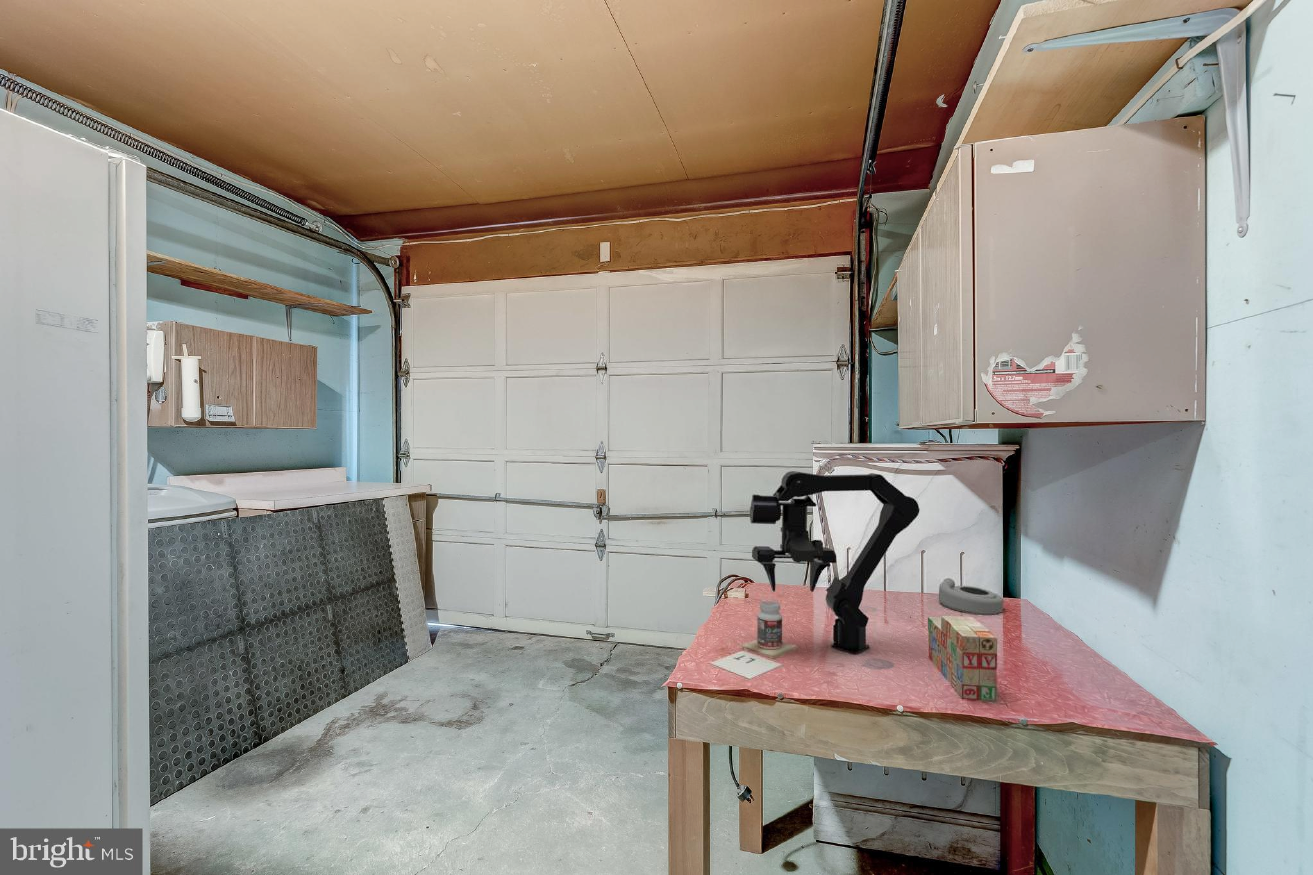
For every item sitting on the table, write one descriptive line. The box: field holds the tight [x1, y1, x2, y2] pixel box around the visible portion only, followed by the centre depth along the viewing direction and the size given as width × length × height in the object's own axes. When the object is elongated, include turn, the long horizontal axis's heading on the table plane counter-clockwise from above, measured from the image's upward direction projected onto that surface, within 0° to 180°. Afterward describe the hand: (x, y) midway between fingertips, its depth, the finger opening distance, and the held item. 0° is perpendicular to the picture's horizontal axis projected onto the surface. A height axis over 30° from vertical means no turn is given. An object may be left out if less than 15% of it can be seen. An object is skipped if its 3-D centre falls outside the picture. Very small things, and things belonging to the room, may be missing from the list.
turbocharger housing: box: [938, 577, 1004, 616], centre depth 167 cm, size 17×6×15 cm
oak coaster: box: [741, 639, 797, 659], centre depth 134 cm, size 9×9×1 cm
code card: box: [709, 650, 783, 680], centre depth 124 cm, size 11×11×1 cm
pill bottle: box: [756, 600, 783, 649], centre depth 134 cm, size 6×6×10 cm
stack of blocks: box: [927, 615, 998, 702], centre depth 118 cm, size 21×6×12 cm, turn 170°
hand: (792, 591), depth 135 cm, fingers open, 9 cm apart
